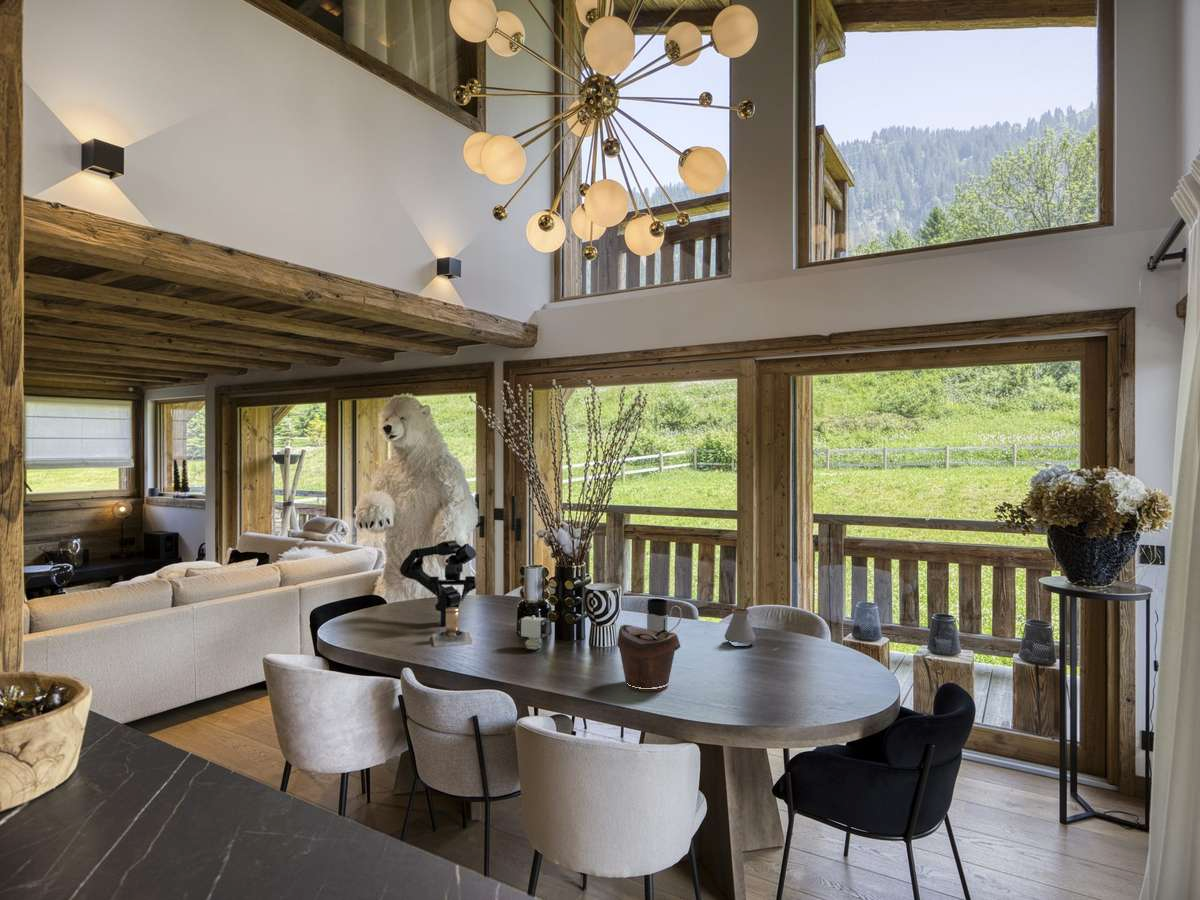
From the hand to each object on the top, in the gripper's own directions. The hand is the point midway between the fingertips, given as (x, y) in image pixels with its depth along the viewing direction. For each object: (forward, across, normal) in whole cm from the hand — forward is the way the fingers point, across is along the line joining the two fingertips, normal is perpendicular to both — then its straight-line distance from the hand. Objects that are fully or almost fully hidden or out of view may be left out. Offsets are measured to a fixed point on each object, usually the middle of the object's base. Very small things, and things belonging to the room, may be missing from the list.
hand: (450, 600), depth 273 cm
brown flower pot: (+56, +70, -37) cm, 97 cm away
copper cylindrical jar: (+15, +2, +2) cm, 16 cm away
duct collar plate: (+16, +2, +2) cm, 16 cm away
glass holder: (+20, +83, -1) cm, 85 cm away
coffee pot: (+22, +113, -3) cm, 115 cm away
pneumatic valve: (+25, +34, -6) cm, 43 cm away
